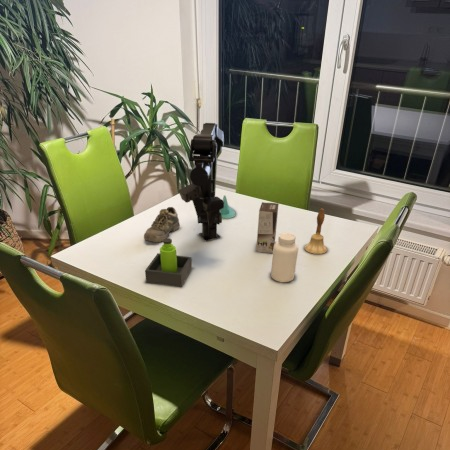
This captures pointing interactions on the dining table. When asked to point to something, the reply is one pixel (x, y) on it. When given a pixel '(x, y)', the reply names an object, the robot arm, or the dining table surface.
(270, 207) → the coffee box
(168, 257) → the green bottle
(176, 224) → the hiking shoe
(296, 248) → the pill bottle
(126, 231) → the dining table surface
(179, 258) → the tote
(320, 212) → the hand bell
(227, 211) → the teal witch hat
